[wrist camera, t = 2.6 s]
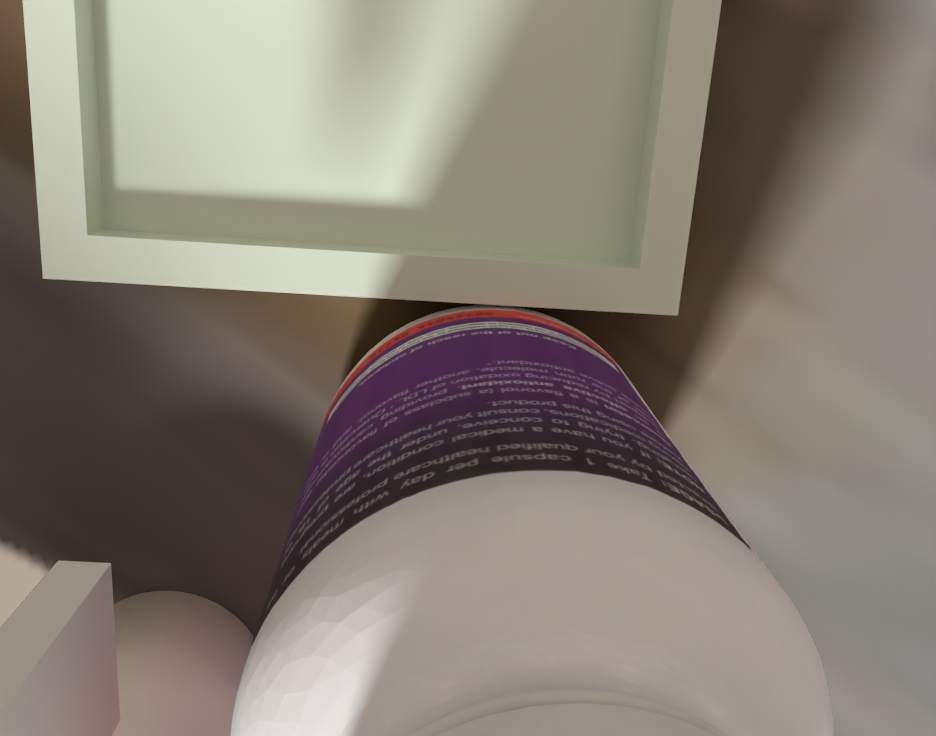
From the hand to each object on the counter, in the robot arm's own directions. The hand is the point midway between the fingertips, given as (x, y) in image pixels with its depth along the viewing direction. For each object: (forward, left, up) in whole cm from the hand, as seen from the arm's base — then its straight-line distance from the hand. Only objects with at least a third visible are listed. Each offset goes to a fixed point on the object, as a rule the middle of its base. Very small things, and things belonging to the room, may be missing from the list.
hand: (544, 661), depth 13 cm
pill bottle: (0, 0, -9) cm, 9 cm away
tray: (-3, +11, -9) cm, 15 cm away
